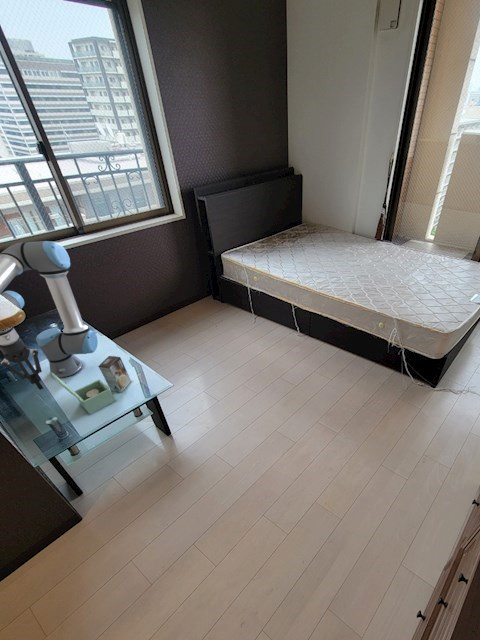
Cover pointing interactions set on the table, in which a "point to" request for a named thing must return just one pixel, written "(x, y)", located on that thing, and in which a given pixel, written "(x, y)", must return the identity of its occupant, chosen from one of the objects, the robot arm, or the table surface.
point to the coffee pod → (92, 393)
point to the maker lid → (66, 387)
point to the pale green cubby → (97, 400)
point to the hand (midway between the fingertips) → (40, 387)
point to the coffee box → (115, 373)
